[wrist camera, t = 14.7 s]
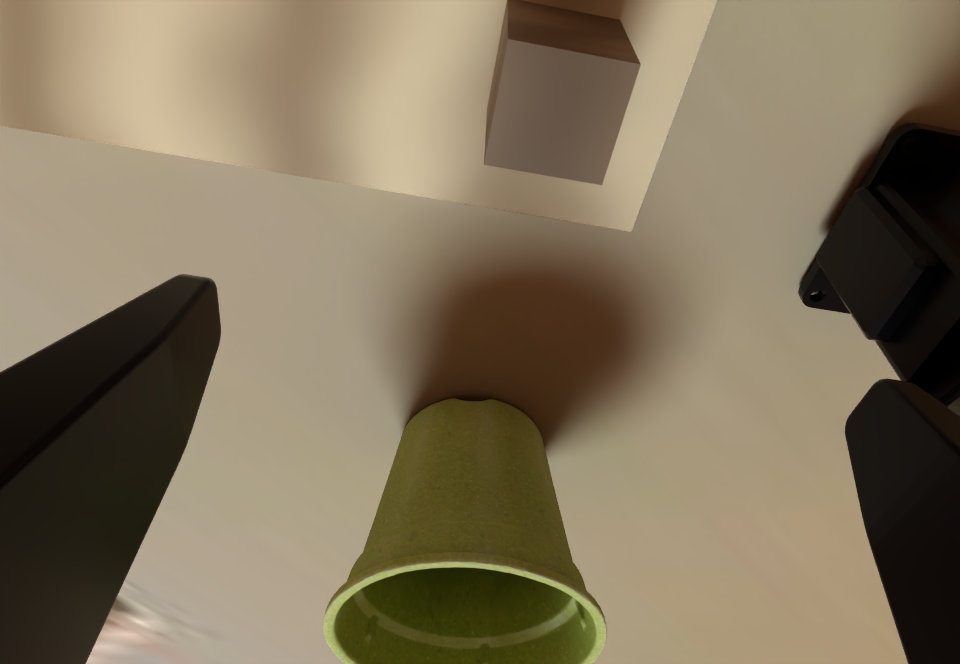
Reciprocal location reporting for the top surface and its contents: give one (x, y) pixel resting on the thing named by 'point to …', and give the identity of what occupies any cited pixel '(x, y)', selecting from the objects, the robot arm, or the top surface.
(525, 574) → the plant pot
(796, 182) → the top surface
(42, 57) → the lid
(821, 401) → the top surface
